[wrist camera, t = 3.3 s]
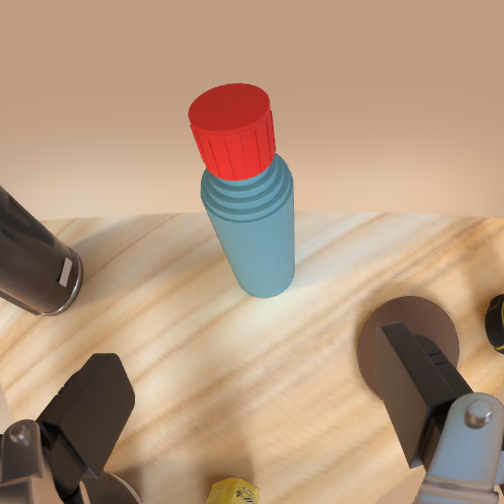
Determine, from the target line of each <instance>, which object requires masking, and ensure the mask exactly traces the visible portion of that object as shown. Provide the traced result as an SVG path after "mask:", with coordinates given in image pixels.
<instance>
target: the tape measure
mask: <svg viewBox="0 0 504 504" xmlns="http://www.w3.org/2000/svg"><path fill="white" fill-rule="evenodd" d="M485 328H486V333H487V336H488V339H489V341H490V343H491V344H492V346H493V347H494V349H495V350H496V351H498V352H500V353H502V354H504V294H502V295H499V296H497V297H495V298H494V299H493V300H492V301H491V303H490V307H489V309H488V311H487V313H486V317H485Z"/></svg>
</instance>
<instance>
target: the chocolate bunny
mask: <svg viewBox="0 0 504 504" xmlns="http://www.w3.org/2000/svg"><path fill="white" fill-rule="evenodd" d="M205 504H259V503H258V488H257V487H255V486H254V485H252V484H250V483H248V482H247V481H245V480H243V479H242V478H233V477H230V478H227V479H224V480H222V481H220V482H217V483H215V484H213V485H212V488H211V491H210V494H209V496H208V498H207V500H206V502H205Z"/></svg>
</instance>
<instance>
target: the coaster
mask: <svg viewBox="0 0 504 504" xmlns="http://www.w3.org/2000/svg"><path fill="white" fill-rule="evenodd" d="M399 321H402V322H403V323H404V324H405V325H406V326H407V328H408V329H409V330H410V332H411V333H412V334H413V335H417V334H422V335H424V336H426V337H427V338H429V339H431V340H433V341H434V342H435V343H436V344H437V346H438V347H439V348H440V349H441V351H442V354H443V353H444V354H445V356H446V357H447V358H448V359H449V362H451V363H452V364H453V366H454V367H455V368H457V364H458V359H459V341H458V336H457V332H456V330H455V327H454V325H453V323H452V321H451V319H450V318H449V317H448V315H447V314H446V313H445V312H444V311H443V310H442V309H441V308H440V307H439V306H438V305H436V304H434V303H433V302H431V301H429V300H427V299H424V298H420V297H414V296H406V297H400V298H396V299H393V300H391V301H389V302H387V303H385V304H384V305H382V306H381V307H380V308H378V309H377V310H376V311H375V312H374V313H373V314H372V315H371V317H370V318H369V319H368V321H367V322H366V324H365V326H364V328H363V330H362V332H361V335H360V339H359V344H358V364H359V369H360V372H361V375H362V377H363V379H364V381H365V383H366V385H367V386H368V387H369V389H370V390H371V391H372V392H373V393H374V394H375V395H376V396H377V397H378V398H380V399H381V400H382V397H381V395H380V393H379V390H378V388H377V385H376V380H375V371H374V368H375V342H376V328H377V326H380V325H385V324H390V323H395V322H399Z"/></svg>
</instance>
